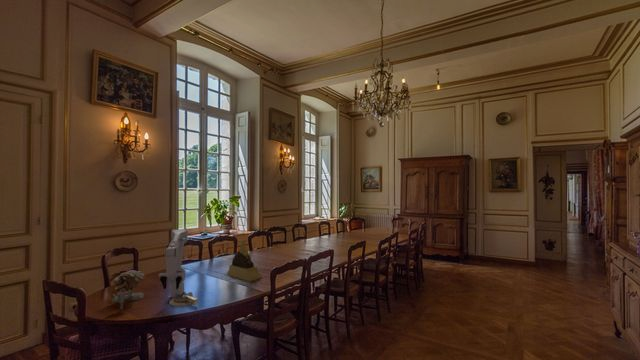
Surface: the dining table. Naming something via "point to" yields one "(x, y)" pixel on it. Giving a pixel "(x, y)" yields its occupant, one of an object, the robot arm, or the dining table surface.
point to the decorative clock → (243, 265)
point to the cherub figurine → (128, 284)
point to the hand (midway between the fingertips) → (171, 288)
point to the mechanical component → (121, 297)
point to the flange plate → (179, 303)
